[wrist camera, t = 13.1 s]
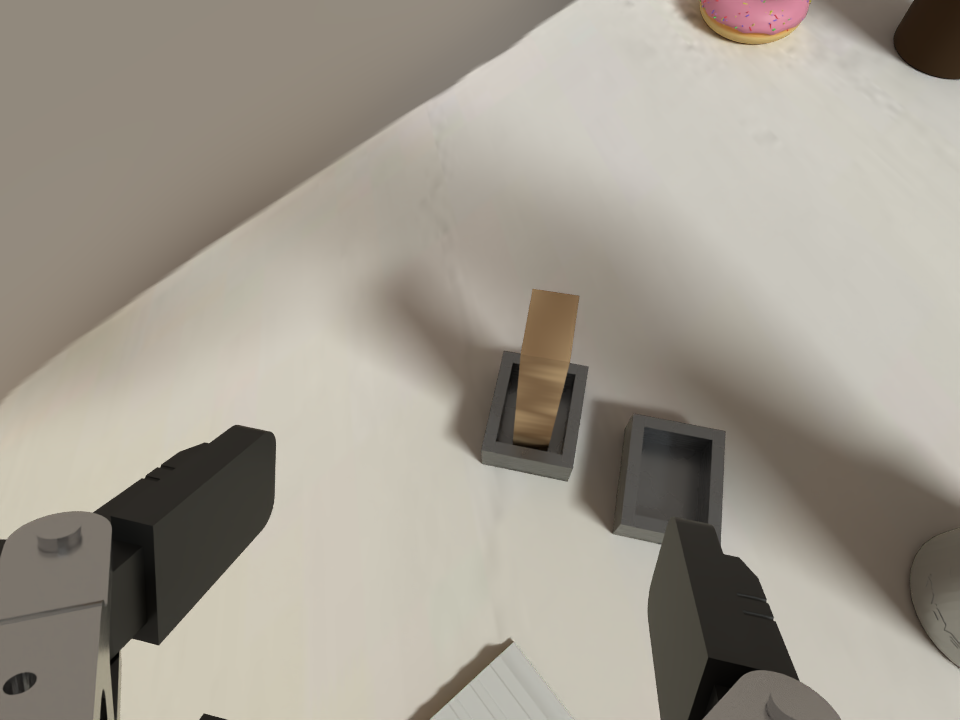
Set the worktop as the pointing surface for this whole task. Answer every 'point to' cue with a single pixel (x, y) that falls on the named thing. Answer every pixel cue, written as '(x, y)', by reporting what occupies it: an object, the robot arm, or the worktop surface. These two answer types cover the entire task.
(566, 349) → the slat
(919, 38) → the olive oil
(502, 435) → the endcap
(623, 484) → the endcap
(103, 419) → the worktop surface
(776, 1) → the doughnut
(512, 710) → the baseboard
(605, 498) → the worktop surface
